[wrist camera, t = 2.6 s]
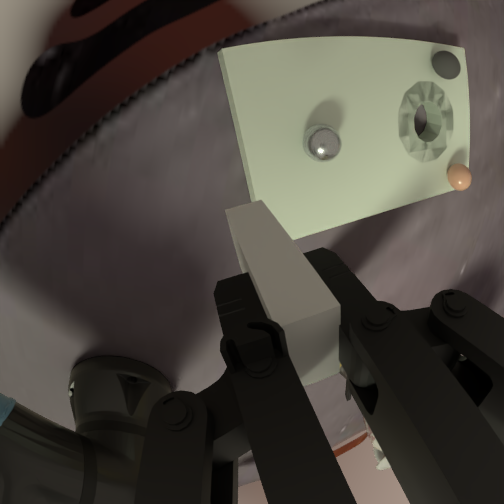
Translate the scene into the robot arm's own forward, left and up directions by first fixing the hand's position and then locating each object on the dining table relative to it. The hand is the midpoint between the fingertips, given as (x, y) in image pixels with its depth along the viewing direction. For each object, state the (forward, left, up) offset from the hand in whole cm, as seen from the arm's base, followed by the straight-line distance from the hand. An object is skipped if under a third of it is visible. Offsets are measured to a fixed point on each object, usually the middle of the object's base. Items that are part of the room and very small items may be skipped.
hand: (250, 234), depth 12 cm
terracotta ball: (+27, -7, -11) cm, 30 cm away
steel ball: (+9, 0, -11) cm, 14 cm away
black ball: (+25, +6, -11) cm, 28 cm away
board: (+17, 0, -15) cm, 23 cm away
